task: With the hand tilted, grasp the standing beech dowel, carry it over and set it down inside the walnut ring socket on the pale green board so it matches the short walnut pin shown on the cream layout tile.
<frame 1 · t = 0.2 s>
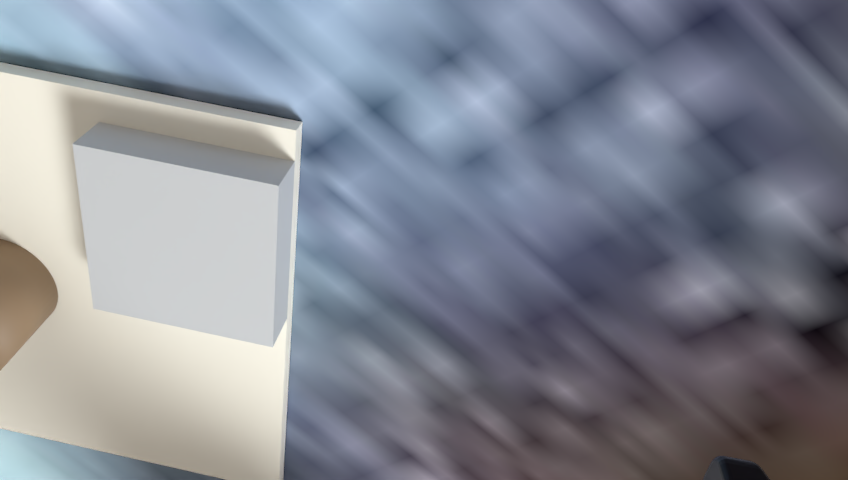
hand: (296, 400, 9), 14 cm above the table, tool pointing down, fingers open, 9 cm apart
layout tile: (126, 294, 28), on the table
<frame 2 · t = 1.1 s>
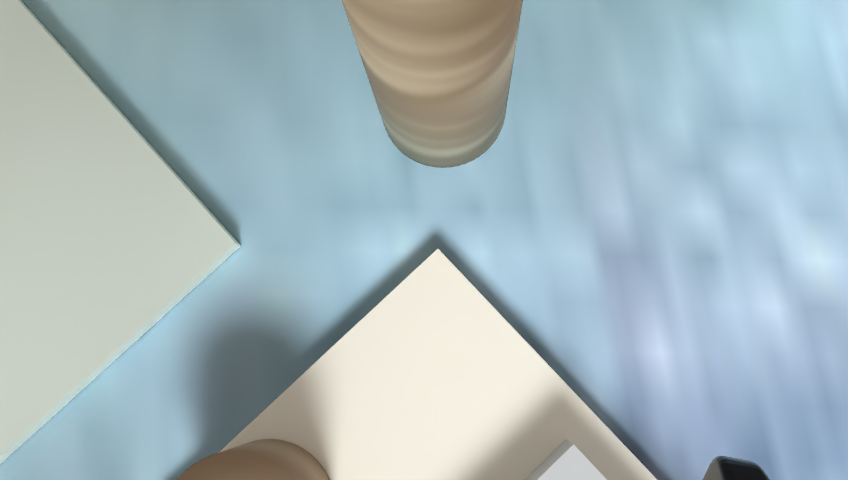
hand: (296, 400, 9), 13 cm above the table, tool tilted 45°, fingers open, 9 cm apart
dowel: (443, 107, 23), on the table
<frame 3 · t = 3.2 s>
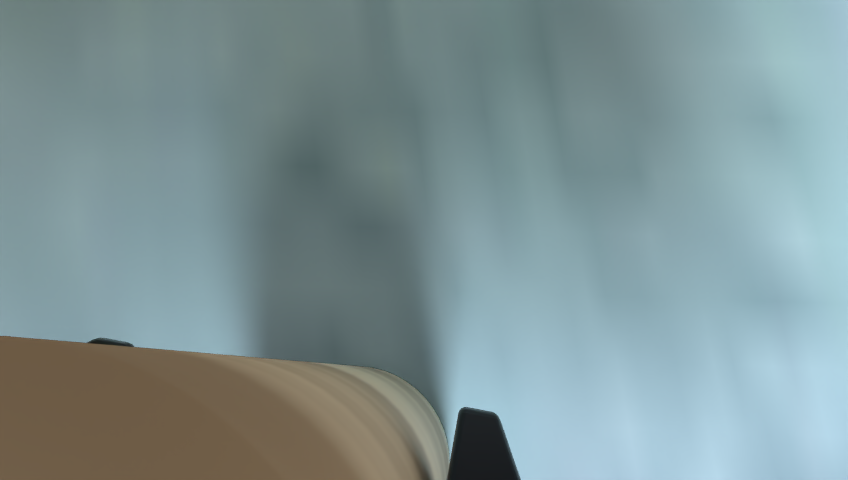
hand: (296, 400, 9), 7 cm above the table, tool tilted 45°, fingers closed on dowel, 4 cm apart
dowel: (354, 462, 15), on the table, touching gripper
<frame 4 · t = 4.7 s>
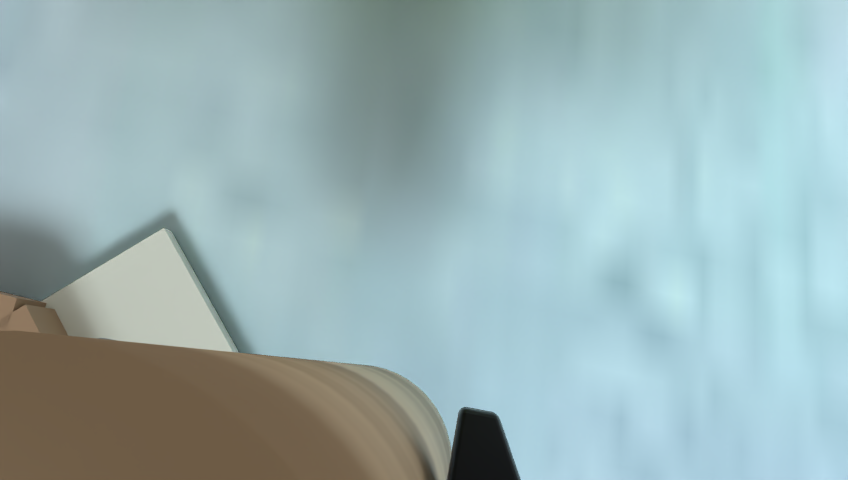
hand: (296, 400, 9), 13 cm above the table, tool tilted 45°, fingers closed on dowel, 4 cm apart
dowel: (356, 461, 15), point 7 cm above the table, touching gripper
when the fingers open (9 cm above the table, at t = 6.5 s): dowel drops 2 cm, resting on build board.
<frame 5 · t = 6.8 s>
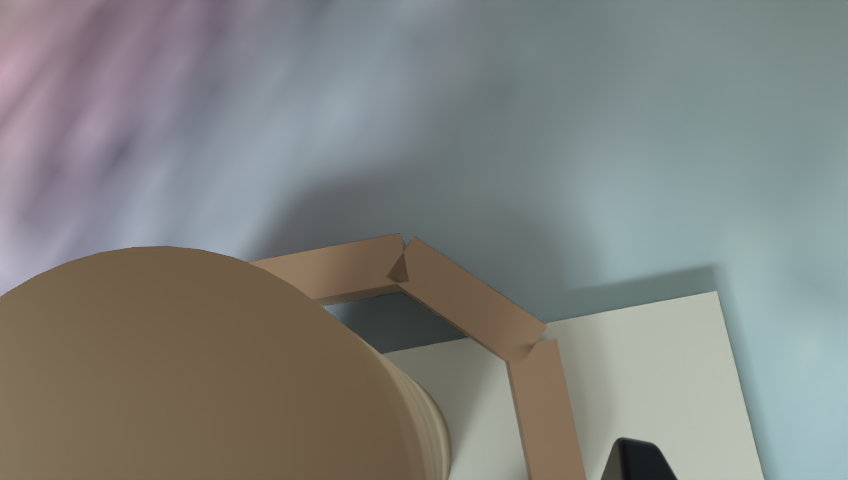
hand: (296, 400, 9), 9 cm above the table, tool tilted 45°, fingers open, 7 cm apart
dowel: (366, 452, 17), point 1 cm above the table, touching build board
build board: (370, 450, 17), on the table
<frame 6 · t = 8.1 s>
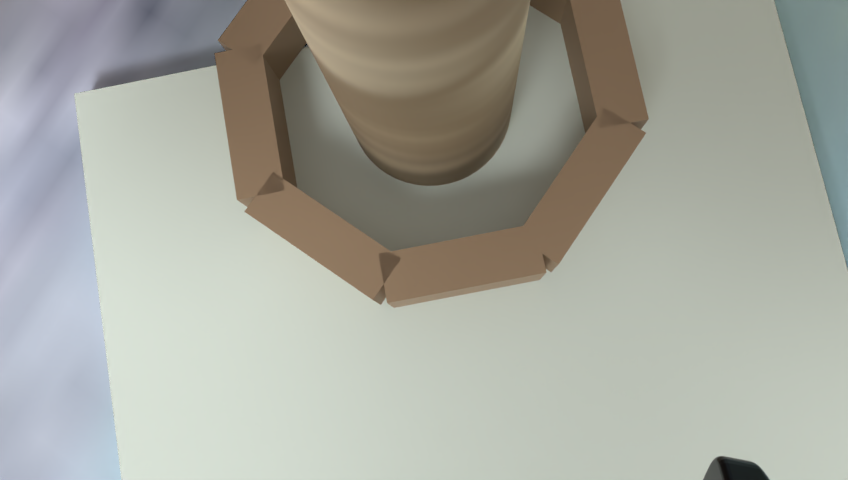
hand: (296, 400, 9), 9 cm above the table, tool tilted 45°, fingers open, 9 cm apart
dowel: (430, 107, 18), point 1 cm above the table, touching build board
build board: (431, 116, 18), on the table
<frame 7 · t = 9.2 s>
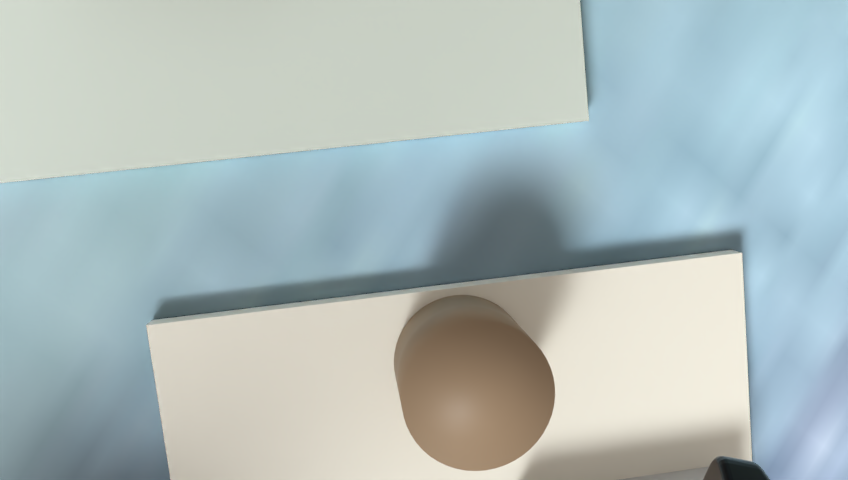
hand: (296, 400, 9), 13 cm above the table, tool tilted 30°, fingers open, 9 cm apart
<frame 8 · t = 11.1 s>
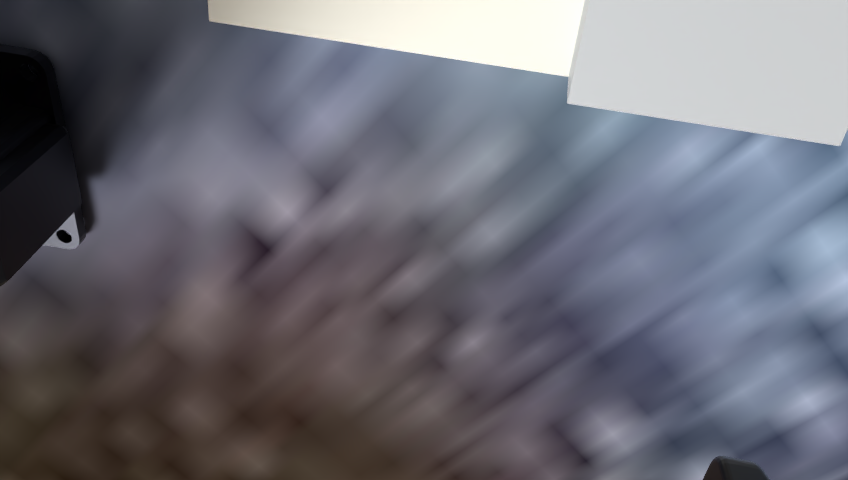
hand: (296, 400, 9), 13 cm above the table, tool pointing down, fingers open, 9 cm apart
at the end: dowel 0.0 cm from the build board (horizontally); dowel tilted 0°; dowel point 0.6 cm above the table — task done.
